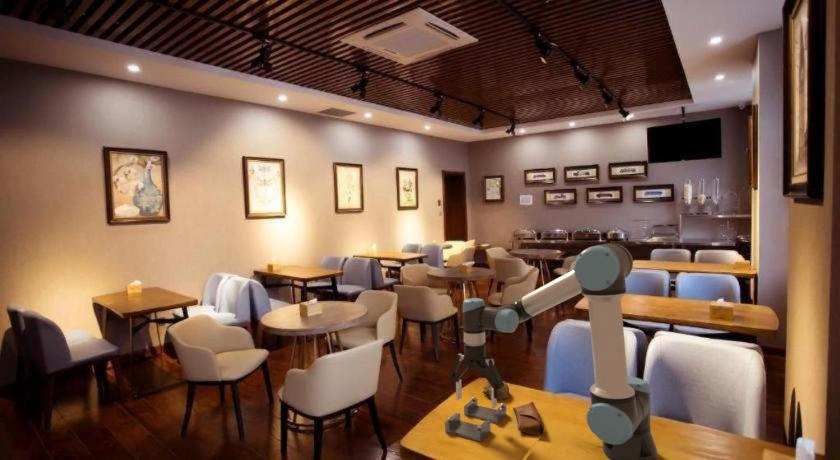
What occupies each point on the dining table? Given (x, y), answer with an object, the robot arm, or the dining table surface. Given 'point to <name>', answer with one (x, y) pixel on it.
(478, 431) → the bent steel plates
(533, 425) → the sunglasses case
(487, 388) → the bread roll
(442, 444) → the dining table surface
